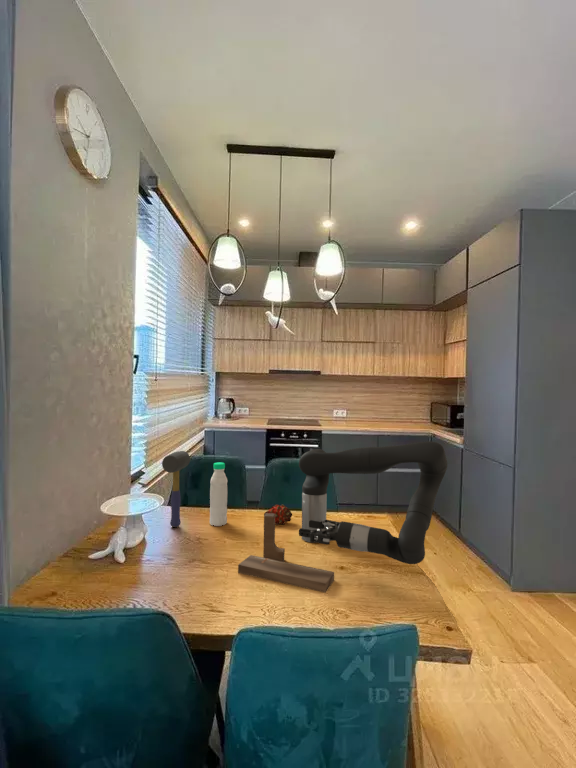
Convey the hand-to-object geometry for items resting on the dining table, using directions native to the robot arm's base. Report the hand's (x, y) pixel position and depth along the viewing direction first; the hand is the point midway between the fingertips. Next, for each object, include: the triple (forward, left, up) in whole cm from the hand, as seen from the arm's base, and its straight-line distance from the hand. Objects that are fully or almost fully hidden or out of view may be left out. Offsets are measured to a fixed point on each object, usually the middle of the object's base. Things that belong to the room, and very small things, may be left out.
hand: (304, 527), depth 130 cm
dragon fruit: (-34, -25, -13) cm, 44 cm away
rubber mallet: (-12, -60, -13) cm, 62 cm away
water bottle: (-23, -47, -13) cm, 54 cm away
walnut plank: (+8, -3, -13) cm, 15 cm away
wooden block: (-1, -11, -13) cm, 17 cm away
